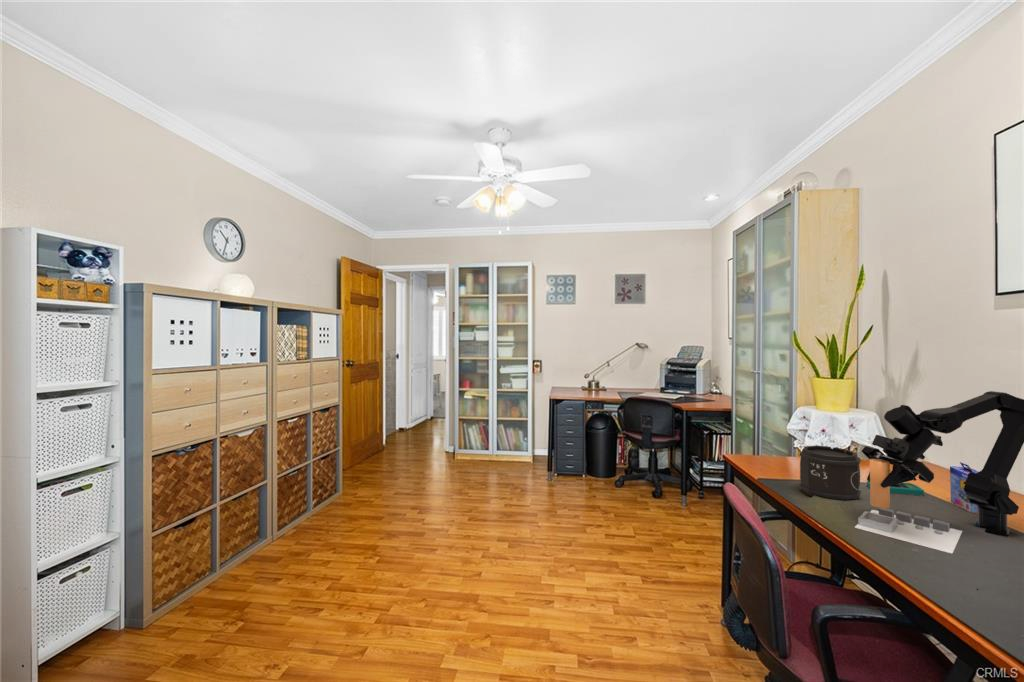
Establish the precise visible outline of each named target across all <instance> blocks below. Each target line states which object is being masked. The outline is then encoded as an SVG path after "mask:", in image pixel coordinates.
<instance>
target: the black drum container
mask: <svg viewBox="0 0 1024 682" xmlns="http://www.w3.org/2000/svg"><path fill="white" fill-rule="evenodd" d="M799 457H800V460H799V469H800V471H799V474H800V475H799V479H800V483H799V487H800V488H801V489H802V493H803V494H806V495H807V496H808V497H810V498H813V497H814V496H818V497H822V498H824V499H832V500H842V501H850V500H858V499H859V498H860V496H861V493H862V491H861V490H860V487H861V469H860V468H861V467H860V464H861V462H862V461H861V458H860V457H858V453H857V452H855V451H852V450H849V449H845V448H841V447H840V448H839V447H833V448H832V447H831V446H825V445H807V446H804V447H803V449H802V450H801V452H799Z"/></svg>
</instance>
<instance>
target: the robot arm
mask: <svg viewBox="0 0 1024 682" xmlns="http://www.w3.org/2000/svg"><path fill="white" fill-rule="evenodd" d="M995 410H997V411H999V412H1000V415H999V418H1000V421H1001V424H1002V428H1001V430H1000V432H999V434H998V436H997V438H996V440H995V442H994V444H993V447H992V448H991V451H990V452H989V455H988V457H987V459H986V461H985V464H984V465H983V468H982V469H981V470H979V471H978V473H973V472H970V473H969V474H968V477H967V480H966V481H965V482H964V483H963V484H965V486H964V491H965V493H966V495H967V497H968V500H969V502H970V503H973V504H975V505H978V513H977V521H976V523H975V525H974V526H975V527H977V528H981V529H984V530H985V532H990V533H994V534H999V535H1001V536H1002V535H1003V536H1007V537H1009V536H1010V531H1011V528H1010V527H1008V516H1013V515H1016V514H1018V511H1019V508H1020V507H1019V506H1018V505H1017V503H1016V502H1014V501H1013V500H1012V499H1011V498H1010V497H1009V496H1010V492H1011V488H1010V484H1009V482H1008V477H1009V475H1010V473H1011V471H1012V468H1013V467H1014V464H1015V463H1016V460H1017V458H1018V456H1019V454H1020V452H1021V450H1022V448H1023V446H1024V399H1023V398H1020V397H1017V396H1014V395H1012V394H1009V393H1007V392H1001V391H992V390H989V391H986V392H984V393H983V394H981V395H979V396H976V397H973V398H970V399H968V400H965V401H963V402H959V403H957V404H954V405H951V406H948V407H941V408H939V407H938V408H936V407H935V408H931V409H926V410H923V411H921V412H920V413H918V414H916V413H915V412H914V411H913V409H912V408H911V406H909V405H905V404H901V405H900V406H899V407H894V408H892V409H890V410H888V411H886V412H885V414H884V416H883V419H884V420H885V421H886V422H888V424H889V425H890V426H892V428H893V429H894V430H896V432H898V433H899V434H900V435H904V436H903V437H902V438H899V437H894V438H889V437H887V436H882V435H880V434H875V436H874V438H873V440H872V442H871V445H873V446H870V445H869V446H868V445H866V446H864V448H862V449H861V453H862V454H864V455H865V457H867V459H869V460H870V459H881V460H886V461H889V462H890V465H892V469H891V470H890V473H889V474H888V476H887V477H886V478H885V479H884V480H883V482H882V483H881V486H882V487H883V488H885V487H889V486H892V485H896V484H899V483H908V482H911V481H914V482H916V481H917V479H916V477H917V476H918V479H919V481H921V482H925V483H927V484H930V483H931V482H932V481H933V480H934V478H935V473H934V472H933V471H932V470H931V469H930V468H929V467H928V466H926V464H925V463H923V462H922V461H919V460H918V459H920V460H924V459H925V458H926V456H925V455H924V453H926V451H927V450H929V448H931V446H932V445H935V446H939V447H943V445H944V444H943V443H944V442H943V441H942V436H941V435H936V434H935V433H936V432H937V433H940V434H951V433H953V432H955V431H956V430H958V429H960V428H961V427H962V425H963V423H964V422H966V421H968V420H971V419H974V418H976V417H979V416H982V415H984V414H986V413H990V412H993V411H995ZM934 432H935V433H934ZM874 446H875V447H874ZM876 446H877V447H879V448H880V449H882V451H881V450H880V449H879V448H876ZM866 480H867V481H869V482H870V471H869V473H868V475H867V478H866Z"/></svg>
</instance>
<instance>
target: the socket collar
mask: <svg viewBox="0 0 1024 682" xmlns="http://www.w3.org/2000/svg"><path fill="white" fill-rule="evenodd" d="M857 519H858V520H857V521H858V523H857V524H858V525H862V526H866V527H870V528H874V529H877V530H881V531H885V532H889V533H893V532H894V531H895V529H896V528H897V527H898V519H896V518H892V517H888V516H884V515H880V514H875V513H871V512H870V511H866V510H865V511H864V512H863V513H862V514H860V516H858V518H857Z"/></svg>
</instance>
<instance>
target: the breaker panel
mask: <svg viewBox="0 0 1024 682" xmlns="http://www.w3.org/2000/svg"><path fill="white" fill-rule="evenodd" d="M869 512H871V513H875V514H880V515H884V516H888V517H892V518H896V519H898V527H897V528H896V529H895V531H894V532H893V533H889V532H885V531H881V530H877V529H874V528H870V527H866V526H862V525H858V523H857V524H856V525H855V526H854V528H855V529H858V530H863V531H866V532H871V533H873V534H877V535H881V536H884V537H889V538H893V539H896V540H900V541H904V542H907V543H910V544H914V545H919V546H922V547H926V548H929V549H933V550H937V551H941V552H944V553H948V554H953V553H954V551H955V549H956V548H957V544H958V542H959V540H960V538H961V535H962V533H963V530H960V529H955V528H952V527H950V525H951V524H950V522H947V521H943V520H939V519H936V518H935V519H934V518H933V520H932V523H931V518H930V517H925V516H921V515H917V514H915V515H914V516H913V518H912V515H913V514H912V513H908V512H904V511H900V510H899V511H898V510H897V511H896V512H895V510H894V509H890V508H888V509H884V508H878V510H875V509H871V511H869Z"/></svg>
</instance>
